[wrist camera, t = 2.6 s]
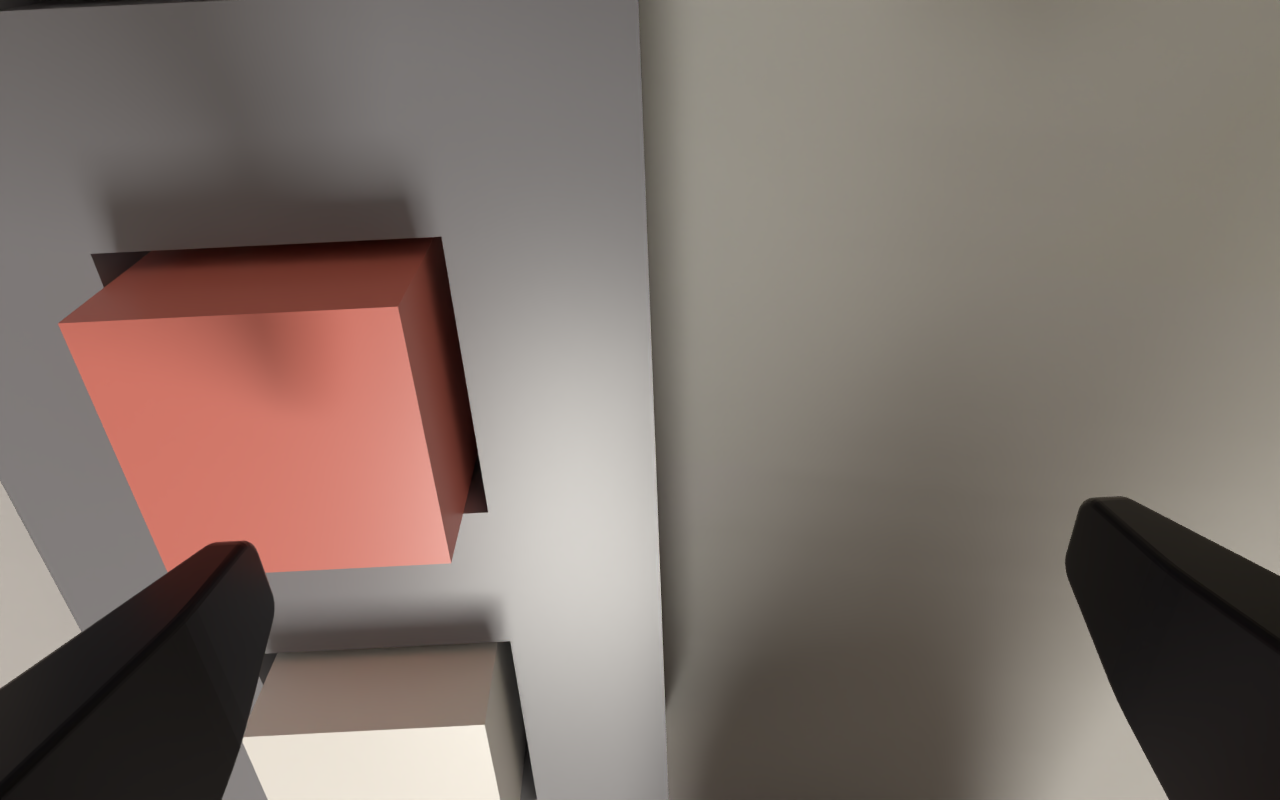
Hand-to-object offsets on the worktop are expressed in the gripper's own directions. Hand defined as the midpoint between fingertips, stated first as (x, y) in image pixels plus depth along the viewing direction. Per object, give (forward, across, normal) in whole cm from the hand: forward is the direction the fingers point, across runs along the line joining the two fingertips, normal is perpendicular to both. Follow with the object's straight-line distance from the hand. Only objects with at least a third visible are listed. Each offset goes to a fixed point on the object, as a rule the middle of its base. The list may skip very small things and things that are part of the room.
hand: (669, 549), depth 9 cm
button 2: (+5, +5, +7) cm, 10 cm away
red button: (+5, +5, 0) cm, 7 cm away
